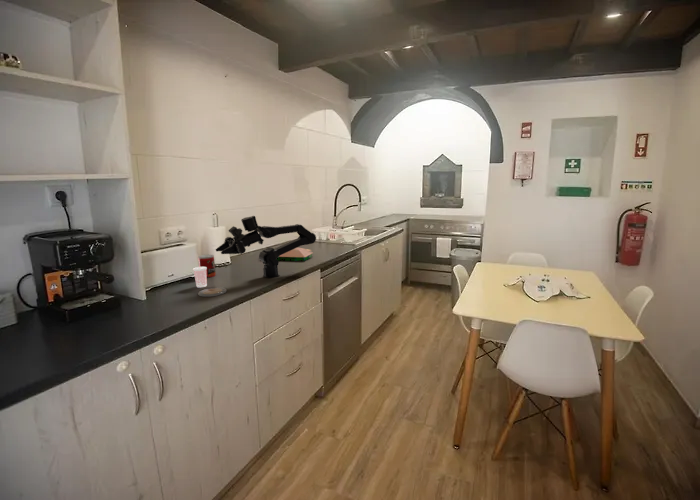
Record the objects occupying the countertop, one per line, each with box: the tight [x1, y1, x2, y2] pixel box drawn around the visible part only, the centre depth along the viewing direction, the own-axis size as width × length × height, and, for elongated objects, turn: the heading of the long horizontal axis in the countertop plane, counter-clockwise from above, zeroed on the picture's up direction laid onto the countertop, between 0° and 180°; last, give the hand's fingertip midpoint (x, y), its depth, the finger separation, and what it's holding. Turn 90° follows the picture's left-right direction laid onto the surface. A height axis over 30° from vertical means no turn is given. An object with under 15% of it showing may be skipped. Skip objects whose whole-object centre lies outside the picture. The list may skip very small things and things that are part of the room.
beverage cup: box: [192, 257, 208, 288], centre depth 171 cm, size 6×6×14 cm
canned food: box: [197, 254, 217, 278], centre depth 190 cm, size 8×8×11 cm
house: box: [278, 247, 314, 262], centre depth 234 cm, size 23×33×8 cm
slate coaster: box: [197, 287, 228, 298], centre depth 161 cm, size 12×12×1 cm
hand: (218, 251), depth 169 cm, fingers open, 9 cm apart
